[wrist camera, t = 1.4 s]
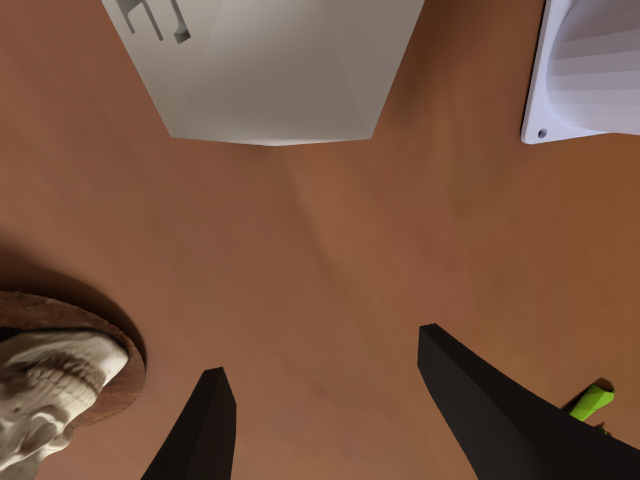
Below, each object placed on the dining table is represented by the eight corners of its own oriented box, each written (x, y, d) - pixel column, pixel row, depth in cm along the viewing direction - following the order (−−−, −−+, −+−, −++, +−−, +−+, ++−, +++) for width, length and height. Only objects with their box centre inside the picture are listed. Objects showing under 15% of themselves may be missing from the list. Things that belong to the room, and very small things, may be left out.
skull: (67, 253, 14) (80, 505, 11) (160, 288, 24) (180, 427, 21) (-252, 328, 12) (-334, 655, 9) (-9, 333, 22) (-12, 493, 19)
